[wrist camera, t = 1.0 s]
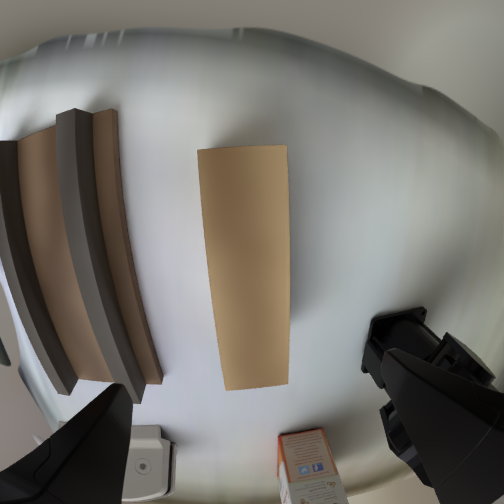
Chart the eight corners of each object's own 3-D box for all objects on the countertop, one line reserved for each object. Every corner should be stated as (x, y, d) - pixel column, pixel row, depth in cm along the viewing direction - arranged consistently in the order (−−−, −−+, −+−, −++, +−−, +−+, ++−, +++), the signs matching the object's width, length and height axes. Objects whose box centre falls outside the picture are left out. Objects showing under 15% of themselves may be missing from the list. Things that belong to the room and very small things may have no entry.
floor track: (117, 111, 15) (96, 101, 12) (163, 377, 22) (157, 404, 19) (3, 150, 14) (-23, 152, 11) (60, 370, 21) (47, 391, 18)
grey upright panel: (161, 424, 24) (167, 506, 17) (177, 434, 27) (185, 506, 20) (57, 421, 24) (53, 484, 16) (78, 432, 27) (76, 491, 19)
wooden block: (266, 151, 17) (286, 144, 12) (273, 333, 22) (288, 383, 16) (205, 154, 17) (197, 149, 11) (223, 338, 21) (225, 390, 16)
